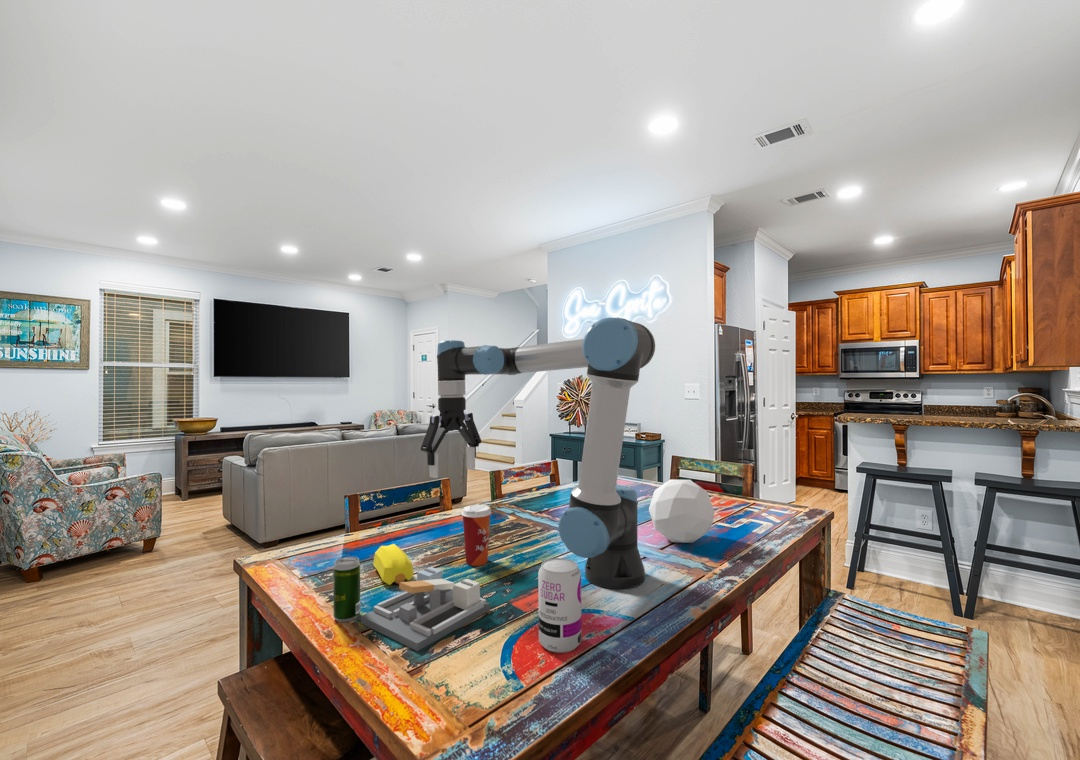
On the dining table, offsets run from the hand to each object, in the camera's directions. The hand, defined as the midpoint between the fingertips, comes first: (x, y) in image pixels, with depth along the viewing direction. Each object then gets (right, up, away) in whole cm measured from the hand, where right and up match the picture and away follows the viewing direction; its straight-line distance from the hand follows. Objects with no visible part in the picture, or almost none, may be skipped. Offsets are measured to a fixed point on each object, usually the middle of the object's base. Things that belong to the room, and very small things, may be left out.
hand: (453, 473), depth 135 cm
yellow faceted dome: (-14, -25, -7) cm, 30 cm away
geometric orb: (+68, -25, +17) cm, 75 cm away
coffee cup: (+6, -25, +1) cm, 26 cm away
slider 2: (+8, -23, -29) cm, 38 cm away
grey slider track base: (0, -25, -30) cm, 39 cm away
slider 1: (-1, -23, -22) cm, 32 cm away
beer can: (-17, -25, -30) cm, 43 cm away
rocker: (0, -19, -30) cm, 36 cm away
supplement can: (+28, -25, -41) cm, 56 cm away
